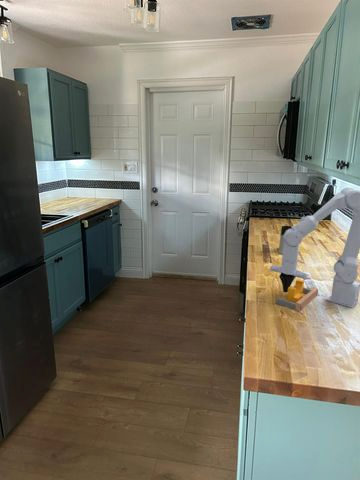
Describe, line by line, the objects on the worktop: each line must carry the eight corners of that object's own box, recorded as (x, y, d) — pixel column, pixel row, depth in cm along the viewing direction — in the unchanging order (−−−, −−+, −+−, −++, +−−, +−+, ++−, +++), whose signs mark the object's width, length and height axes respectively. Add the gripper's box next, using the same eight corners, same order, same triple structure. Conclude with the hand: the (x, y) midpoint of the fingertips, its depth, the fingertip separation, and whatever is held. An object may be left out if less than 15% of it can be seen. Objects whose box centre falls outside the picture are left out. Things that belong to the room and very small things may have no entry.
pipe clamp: (297, 306, 128) (299, 290, 127) (286, 303, 131) (288, 287, 129) (306, 296, 138) (308, 281, 136) (295, 293, 140) (297, 278, 138)
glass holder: (286, 249, 201) (289, 225, 197) (304, 256, 189) (307, 230, 185) (274, 251, 198) (277, 226, 194) (292, 258, 185) (295, 231, 181)
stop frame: (317, 295, 138) (318, 288, 137) (299, 311, 124) (300, 303, 123) (294, 289, 144) (295, 282, 143) (275, 303, 130) (275, 296, 129)
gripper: (311, 261, 132) (307, 293, 135) (276, 253, 140) (273, 283, 144) (305, 265, 126) (301, 299, 130) (269, 257, 135) (265, 288, 139)
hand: (285, 291), depth 136 cm, fingers closed
